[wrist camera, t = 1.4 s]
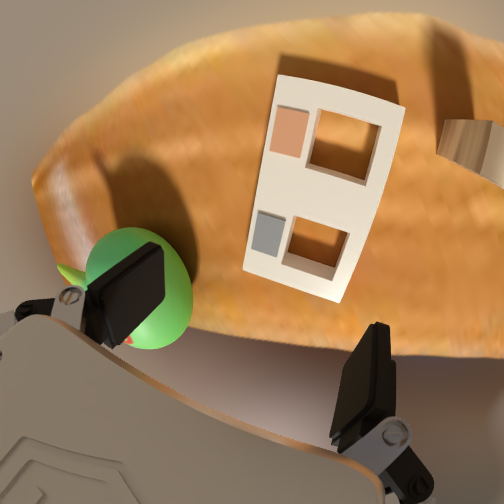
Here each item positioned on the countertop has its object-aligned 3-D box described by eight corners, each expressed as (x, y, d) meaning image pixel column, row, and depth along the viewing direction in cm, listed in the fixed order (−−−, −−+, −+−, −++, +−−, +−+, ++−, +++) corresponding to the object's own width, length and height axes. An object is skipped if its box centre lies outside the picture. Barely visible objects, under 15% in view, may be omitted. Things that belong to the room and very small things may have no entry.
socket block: (400, 109, 21) (406, 107, 18) (341, 288, 32) (338, 304, 29) (285, 79, 23) (277, 73, 21) (251, 258, 35) (241, 271, 32)
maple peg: (475, 135, 18) (530, 147, 9) (466, 168, 20) (516, 197, 11) (444, 119, 19) (492, 120, 10) (436, 154, 21) (479, 174, 12)
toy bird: (222, 317, 42) (173, 386, 30) (146, 307, 49) (96, 356, 36) (190, 206, 35) (108, 257, 23) (112, 218, 41) (44, 258, 29)
